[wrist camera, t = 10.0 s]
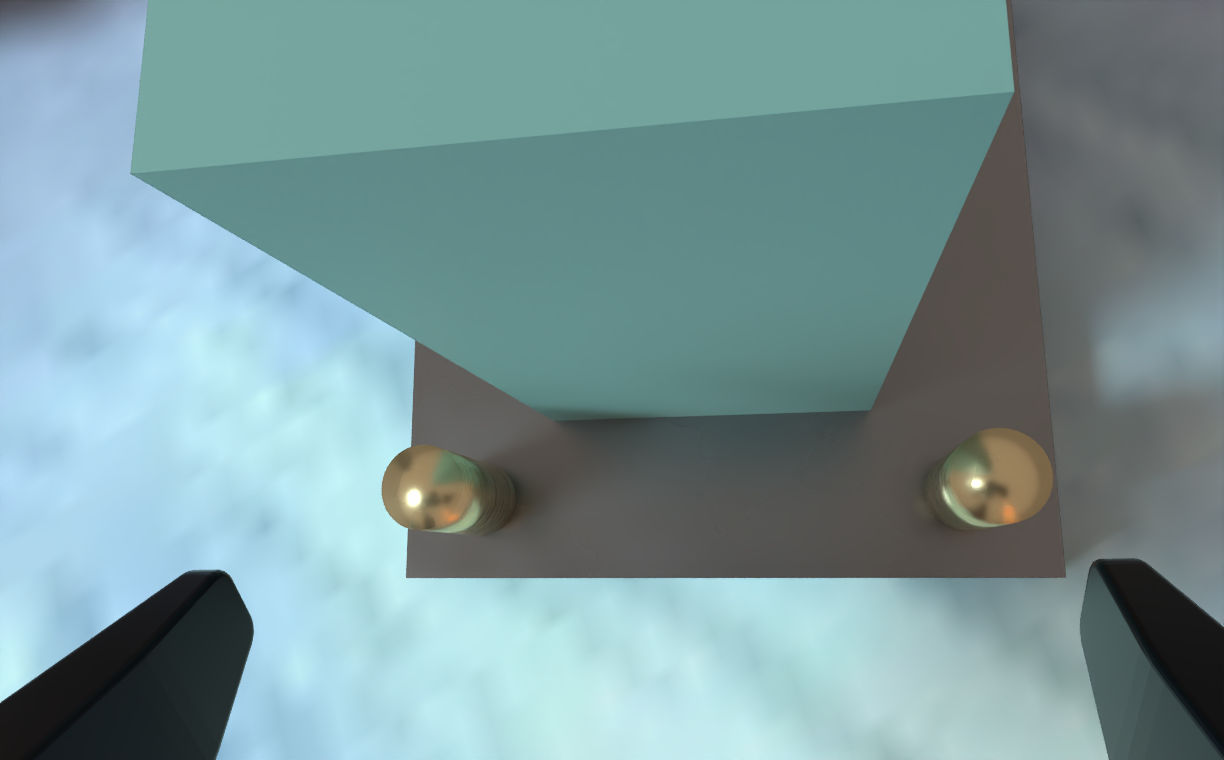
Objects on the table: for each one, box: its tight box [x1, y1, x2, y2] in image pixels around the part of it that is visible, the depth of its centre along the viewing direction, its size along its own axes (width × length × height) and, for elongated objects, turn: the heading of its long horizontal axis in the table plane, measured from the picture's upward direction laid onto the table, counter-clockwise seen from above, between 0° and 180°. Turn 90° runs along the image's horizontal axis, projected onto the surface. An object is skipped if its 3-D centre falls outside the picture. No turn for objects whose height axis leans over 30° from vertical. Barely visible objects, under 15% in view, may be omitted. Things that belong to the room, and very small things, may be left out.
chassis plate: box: [382, 0, 1066, 578], centre depth 17 cm, size 12×12×4 cm
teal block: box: [130, 0, 1014, 421], centre depth 13 cm, size 6×6×12 cm
